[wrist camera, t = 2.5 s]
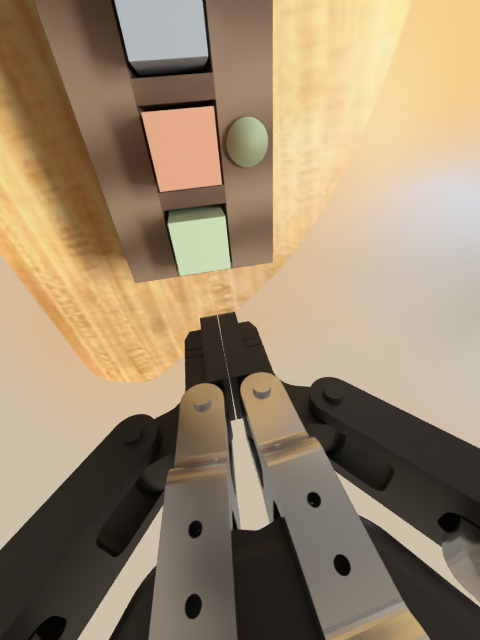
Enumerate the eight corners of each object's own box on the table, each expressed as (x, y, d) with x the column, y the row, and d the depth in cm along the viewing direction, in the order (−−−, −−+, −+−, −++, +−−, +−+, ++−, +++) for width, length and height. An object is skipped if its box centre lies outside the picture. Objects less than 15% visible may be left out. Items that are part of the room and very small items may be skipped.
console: (49, -29, 15) (-1, -88, 11) (250, -36, 16) (274, -92, 12) (142, 259, 26) (134, 284, 22) (259, 242, 27) (273, 263, 23)
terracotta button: (149, 115, 18) (141, 112, 14) (207, 110, 18) (213, 105, 15) (163, 180, 20) (160, 191, 17) (214, 174, 21) (221, 184, 17)
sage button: (169, 207, 22) (167, 223, 18) (218, 201, 22) (225, 216, 18) (180, 253, 24) (180, 275, 20) (223, 247, 24) (230, 268, 21)
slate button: (117, -24, 14) (97, -74, 11) (190, -27, 15) (194, -76, 11) (140, 75, 17) (129, 61, 13) (202, 71, 17) (208, 55, 14)
